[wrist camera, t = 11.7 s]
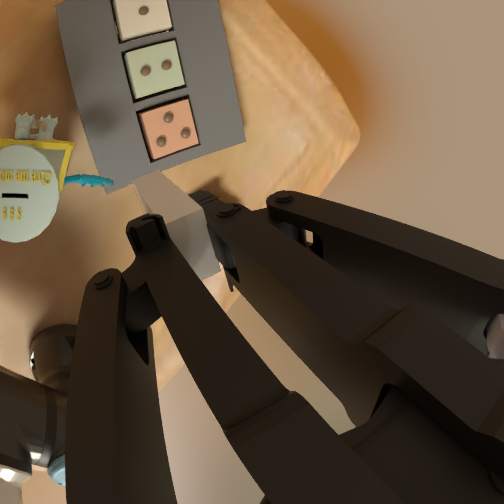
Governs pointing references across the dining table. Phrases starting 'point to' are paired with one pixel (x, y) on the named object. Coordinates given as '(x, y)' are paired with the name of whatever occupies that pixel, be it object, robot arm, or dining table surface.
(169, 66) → the tile two
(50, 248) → the dining table surface
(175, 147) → the tile three
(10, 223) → the character sculpture
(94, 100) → the button board
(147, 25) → the tile one
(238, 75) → the dining table surface
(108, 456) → the robot arm
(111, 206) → the dining table surface
